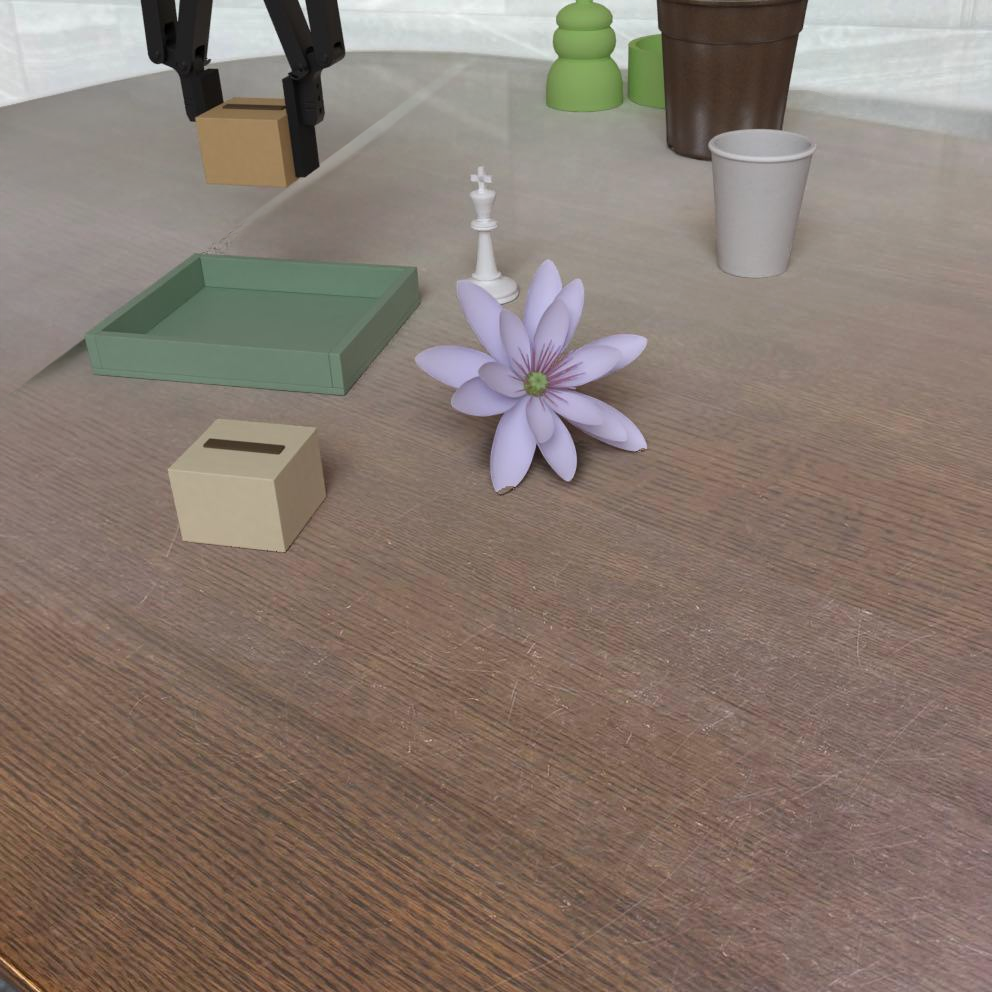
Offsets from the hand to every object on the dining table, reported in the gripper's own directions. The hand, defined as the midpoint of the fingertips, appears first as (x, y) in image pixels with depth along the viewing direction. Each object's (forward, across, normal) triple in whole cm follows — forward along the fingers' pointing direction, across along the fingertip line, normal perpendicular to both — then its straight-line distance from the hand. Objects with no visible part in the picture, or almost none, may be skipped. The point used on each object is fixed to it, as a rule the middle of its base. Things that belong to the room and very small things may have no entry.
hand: (263, 169), depth 85 cm
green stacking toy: (+12, -16, -75) cm, 78 cm away
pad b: (0, 0, 0) cm, 0 cm away
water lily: (+12, -24, +17) cm, 32 cm away
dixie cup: (+12, -34, -18) cm, 40 cm away
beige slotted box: (+11, -10, +27) cm, 31 cm away
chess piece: (+12, -14, -8) cm, 20 cm away
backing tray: (+11, 0, +3) cm, 12 cm away
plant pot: (+12, -28, -54) cm, 62 cm away
